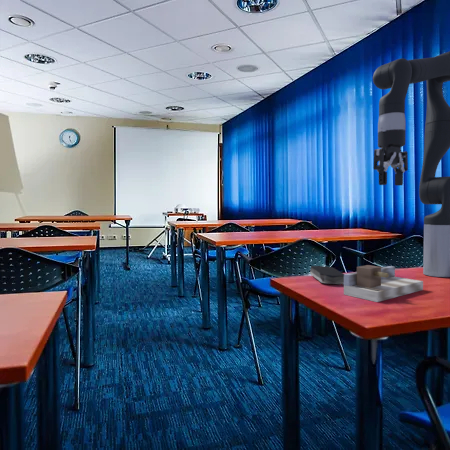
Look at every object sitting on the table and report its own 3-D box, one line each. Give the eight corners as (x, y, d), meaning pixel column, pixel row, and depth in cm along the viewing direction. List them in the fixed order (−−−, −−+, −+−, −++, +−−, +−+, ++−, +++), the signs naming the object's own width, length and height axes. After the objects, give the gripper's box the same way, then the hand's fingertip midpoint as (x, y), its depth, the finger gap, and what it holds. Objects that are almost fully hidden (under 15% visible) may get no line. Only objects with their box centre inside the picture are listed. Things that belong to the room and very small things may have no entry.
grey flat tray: (389, 283, 112) (389, 266, 111) (422, 289, 103) (423, 270, 103) (343, 294, 99) (343, 274, 99) (377, 302, 91) (377, 280, 91)
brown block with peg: (367, 282, 102) (367, 265, 101) (393, 287, 95) (393, 268, 95) (356, 285, 99) (356, 266, 99) (382, 290, 93) (382, 270, 92)
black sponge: (308, 276, 127) (308, 265, 127) (333, 275, 127) (333, 265, 127) (321, 286, 111) (321, 274, 111) (349, 286, 111) (349, 274, 111)
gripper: (393, 135, 116) (392, 186, 117) (365, 130, 108) (365, 185, 109) (416, 131, 110) (415, 185, 111) (389, 125, 102) (389, 184, 103)
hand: (390, 185), depth 110 cm, fingers open, 8 cm apart
